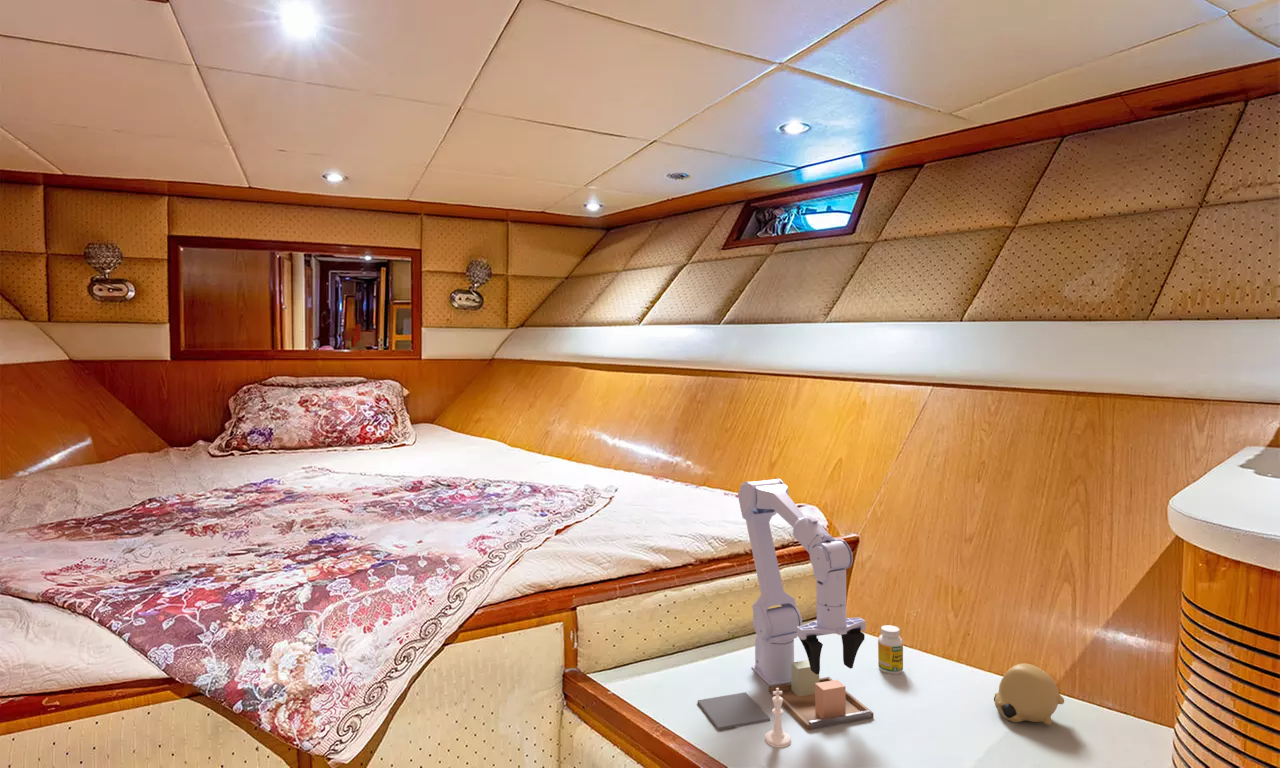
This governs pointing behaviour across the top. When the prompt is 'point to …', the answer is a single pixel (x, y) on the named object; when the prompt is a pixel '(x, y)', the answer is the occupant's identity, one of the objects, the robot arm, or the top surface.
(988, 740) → the top surface
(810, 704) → the wooden serving tray
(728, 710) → the mat
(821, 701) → the salmon pink box
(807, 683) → the khaki rectangular block
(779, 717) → the chess piece
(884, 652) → the supplement bottle
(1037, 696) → the tan animal figurine
